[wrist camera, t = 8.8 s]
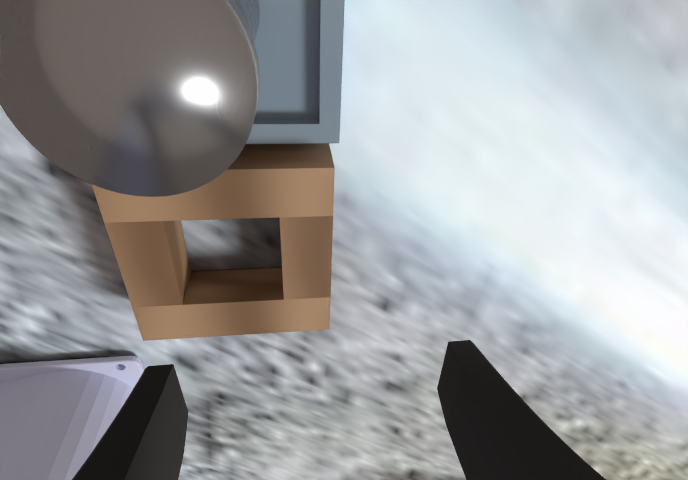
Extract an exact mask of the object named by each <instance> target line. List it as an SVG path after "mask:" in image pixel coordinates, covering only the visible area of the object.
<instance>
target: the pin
mask: <svg viewBox="0 0 688 480" xmlns="http://www.w3.org/2000/svg"><path fill="white" fill-rule="evenodd" d="M259 21H260V10H259V3H258V0H0V105H1V106H2V108H3V110H4V111H5V113H6V115H7V116H8V117H9V119H10V120H11V121H12V123H13V124H14V125H15V127H16V128H17V129H18V130H19V131H20V133H21V134H22V135H23V136H24V137H25V138H26V139H27V140H28V141H29V142H30V143H31V144H32V145H33V146H34V147H35V148H36V149H37V150H38V151H40V152H41V153H42V154H43V155H44V156H45V157H47V158H48V159H49V160H51V161H52V162H53V163H55V164H56V165H57V166H59V167H60V168H62V169H64V170H65V171H67V172H68V173H70V174H72V175H73V176H75V177H77V178H79V179H81V180H84V181H86V182H88V183H90V184H92V185H95V186H98V187H100V188H103V189H106V190H110V191H113V192H117V193H121V194H127V195H133V196H143V197H161V196H171V195H177V194H181V193H185V192H188V191H192V190H194V189H197V188H199V187H201V186H203V185H206V184H207V183H209V182H211V181H212V180H214V179H215V178H217V177H218V176H220V175H221V174H222V173H223V172H224V171H225V170H227V169H228V168H229V167H230V165H231V164H232V163H233V162H234V161H235V160H236V159H237V157H238V156H239V154H240V153H241V151H242V150H243V148H244V146H245V144H246V142H247V140H248V138H249V136H250V133H251V129H252V126H253V123H254V119H255V114H256V109H257V104H258V98H259V92H260V69H259V61H258V56H257V51H256V47H255V43H254V40H255V37H256V34H257V31H258V27H259Z"/></svg>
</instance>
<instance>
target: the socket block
mask: <svg viewBox="0 0 688 480" xmlns="http://www.w3.org/2000/svg"><path fill="white" fill-rule="evenodd" d="M92 187H93V190H94V193H95V196H96V199H97V202H98V205H99V209H100V212H101V215H102V218H103V221H104V224H105V227H106V230H107V233H108V236H109V239H110V242H111V245H112V248H113V251H114V254H115V257H116V260H117V263H118V266H119V269H120V272H121V275H122V278H123V281H124V284H125V287H126V290H127V293H128V296H129V299H130V302H131V305H132V308H133V311H134V314H135V317H136V320H137V323H138V326H139V329H140V332H141V335H142V338H143V341H145V340H161V339H178V338H194V337H211V336H227V335H243V334H260V333H276V332H293V331H309V330H325V329H329V323H330V291H331V260H332V228H333V197H334V164H333V159H332V155H331V151H330V146H329V143H304V144H245V146H244V148H243V150H242V151H241V153H240V154H239V156H238V157H237V159H236V160H235V161H234V162H233V163H232V164H231V165H230V167H229V168H228V169H227V170H225V171H224V172H223V173H222V174H221V175H220V176H218V177H217V178H215V179H214V180H212V181H211V182H209V183H207V184H206V185H203V186H201V187H199V188H197V189H194V190H192V191H188V192H185V193H181V194H177V195H171V196H161V197H143V196H133V195H127V194H121V193H117V192H113V191H110V190H106V189H103V188H100V187H98V186H95V185H92ZM278 217H280V236H281V255H282V268H261V269H237V270H214V271H191V268H190V264H189V259H188V254H187V249H186V245H185V240H184V235H183V230H182V225H181V221H180V220H210V219H244V218H278Z"/></svg>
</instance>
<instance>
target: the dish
mask: <svg viewBox="0 0 688 480" xmlns="http://www.w3.org/2000/svg"><path fill="white" fill-rule="evenodd" d="M258 3H259V10H260V21H259V27H258V31H257V34H256V37H255V40H254V43H255V47H256V51H257V56H258V61H259V69H260V92H259V98H258V104H257V109H256V114H255V119H254V123H253V126H252V129H251V133H250V136H249V138H248V140H247V142H246V144H304V143H339V133H340V107H341V80H342V53H343V26H344V0H258Z"/></svg>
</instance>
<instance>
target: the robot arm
mask: <svg viewBox="0 0 688 480" xmlns="http://www.w3.org/2000/svg"><path fill="white" fill-rule="evenodd" d="M437 390H438V394H439V398H440V402H441V406H442V410H443V414H444V418H445V422H446V426H447V428H448V431H449V434H450V437H451V439H452V442H453V445H454V447H455V450H456V453H457V456H458V458H459V461H460V464H461V466H462V469H463V471H464V474H465V477H466V479H467V480H606V479H604V478H603V477H602V476H601V475H600V474H599V473H598V472H596V471H595V470H594V469H593V468H592V467H591V466H590V465H588V464H587V463H586V462H585V461H584V460H583V459H582V458H581V457H580V456H578V455H577V454H576V453H575V452H574V451H573V450H572V449H571V448H570V447H569V446H568V445H567V444H566V443H565V442H564V441H562V440H561V439H560V438H559V437H558V436H557V435H556V434H555V433H554V432H553V431H552V430H551V429H550V428H549V427H548V426H547V425H546V424H545V423H544V422H543V421H542V420H541V419H540V418H539V417H538V415H537V414H536V413H535V412H534V411H533V410H532V409H531V408H530V407H529V406H528V405H527V404H526V403H525V402H524V401H523V399H522V398H521V397H520V396H519V395H518V394H517V393H516V392H515V391H514V390H513V389H512V387H511V386H510V385H509V384H508V383H507V382H506V381H505V380H504V378H503V377H502V376H501V375H500V374H499V373H498V372H497V370H496V369H495V368H494V367H493V366H492V365H491V363H490V362H489V361H488V360H487V359H486V358H485V356H484V355H483V354H482V353H481V352H480V350H479V349H478V348H477V347H476V346H475V345H474V343H473V342H472V341H471V340H465V341H453V342H448V346H447V350H446V354H445V358H444V363H443V367H442V371H441V375H440V379H439V384H438V388H437ZM187 419H188V410H187V407H186V403H185V400H184V397H183V394H182V391H181V387H180V384H179V381H178V378H177V375H176V371H175V368H174V365H173V364H170V365H158V366H148V367H147V368H146V369H145V370H144V369H143V366H142V363H141V361H140V359H139V358H137V357H135V356H118V357H103V358H87V359H72V360H57V361H41V362H26V363H10V364H0V480H178V477H179V473H180V468H181V464H182V459H183V454H184V446H185V438H186V429H187Z"/></svg>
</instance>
